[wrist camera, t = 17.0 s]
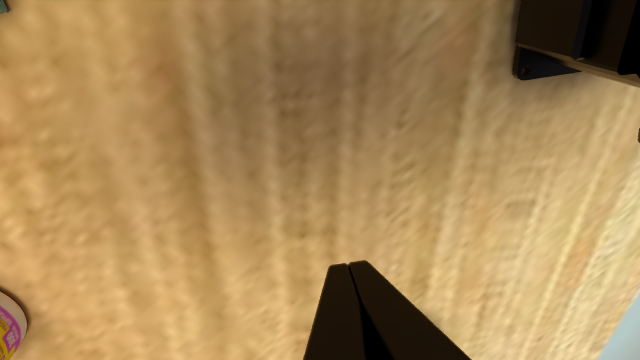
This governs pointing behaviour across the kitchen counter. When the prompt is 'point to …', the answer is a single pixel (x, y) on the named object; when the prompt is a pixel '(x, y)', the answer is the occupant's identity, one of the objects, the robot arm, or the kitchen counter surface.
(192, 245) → the kitchen counter surface
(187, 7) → the kitchen counter surface
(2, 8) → the tray
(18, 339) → the supplement bottle
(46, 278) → the kitchen counter surface
